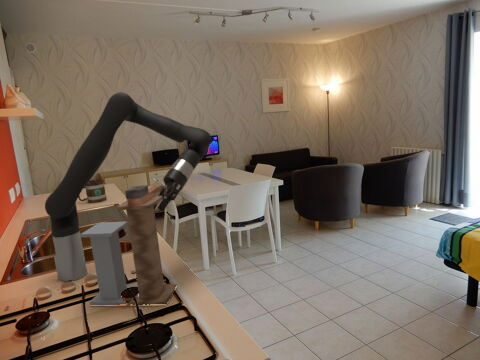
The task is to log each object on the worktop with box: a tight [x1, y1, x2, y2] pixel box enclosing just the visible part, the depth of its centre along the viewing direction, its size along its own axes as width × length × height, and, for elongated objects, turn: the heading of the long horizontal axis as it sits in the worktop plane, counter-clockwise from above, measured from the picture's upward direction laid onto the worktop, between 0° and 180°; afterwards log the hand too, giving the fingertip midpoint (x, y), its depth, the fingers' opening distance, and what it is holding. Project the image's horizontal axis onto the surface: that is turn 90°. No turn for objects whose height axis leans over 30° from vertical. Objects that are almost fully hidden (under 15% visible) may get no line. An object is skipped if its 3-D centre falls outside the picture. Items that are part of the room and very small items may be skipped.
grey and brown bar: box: [124, 183, 164, 206], centre depth 110 cm, size 4×19×4 cm, turn 173°
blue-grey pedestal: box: [80, 220, 138, 306], centre depth 112 cm, size 12×11×24 cm
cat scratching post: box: [116, 196, 178, 305], centre depth 109 cm, size 12×11×32 cm
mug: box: [78, 179, 107, 204], centre depth 253 cm, size 20×14×15 cm
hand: (154, 211), depth 116 cm, fingers open, 8 cm apart
